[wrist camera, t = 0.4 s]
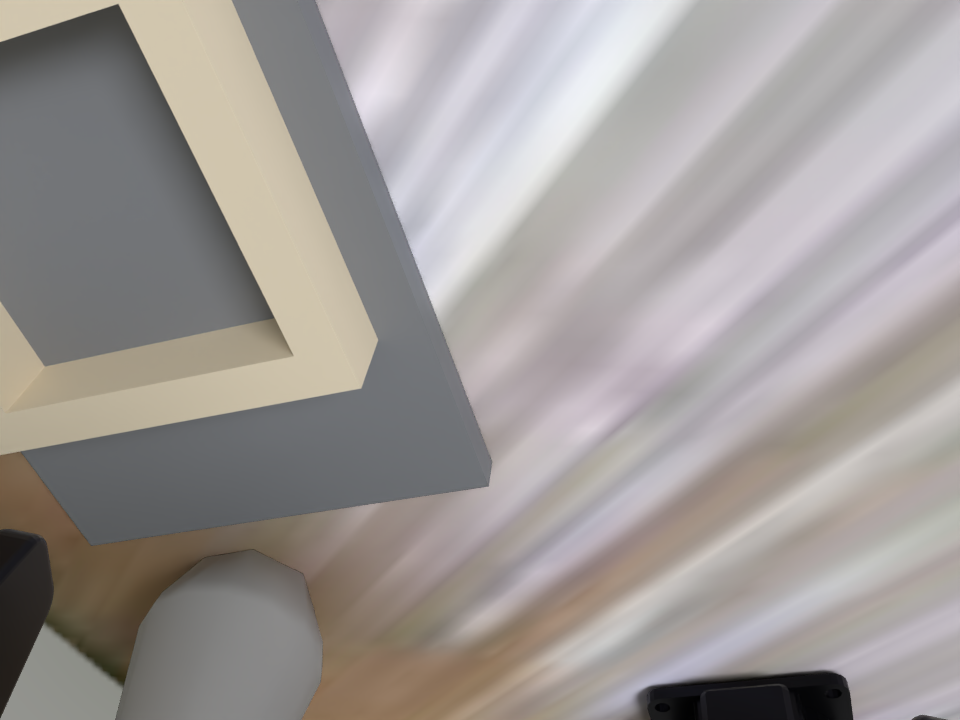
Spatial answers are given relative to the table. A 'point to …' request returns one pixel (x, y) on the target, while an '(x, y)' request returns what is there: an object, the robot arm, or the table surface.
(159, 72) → the build board
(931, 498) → the table surface
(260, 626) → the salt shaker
